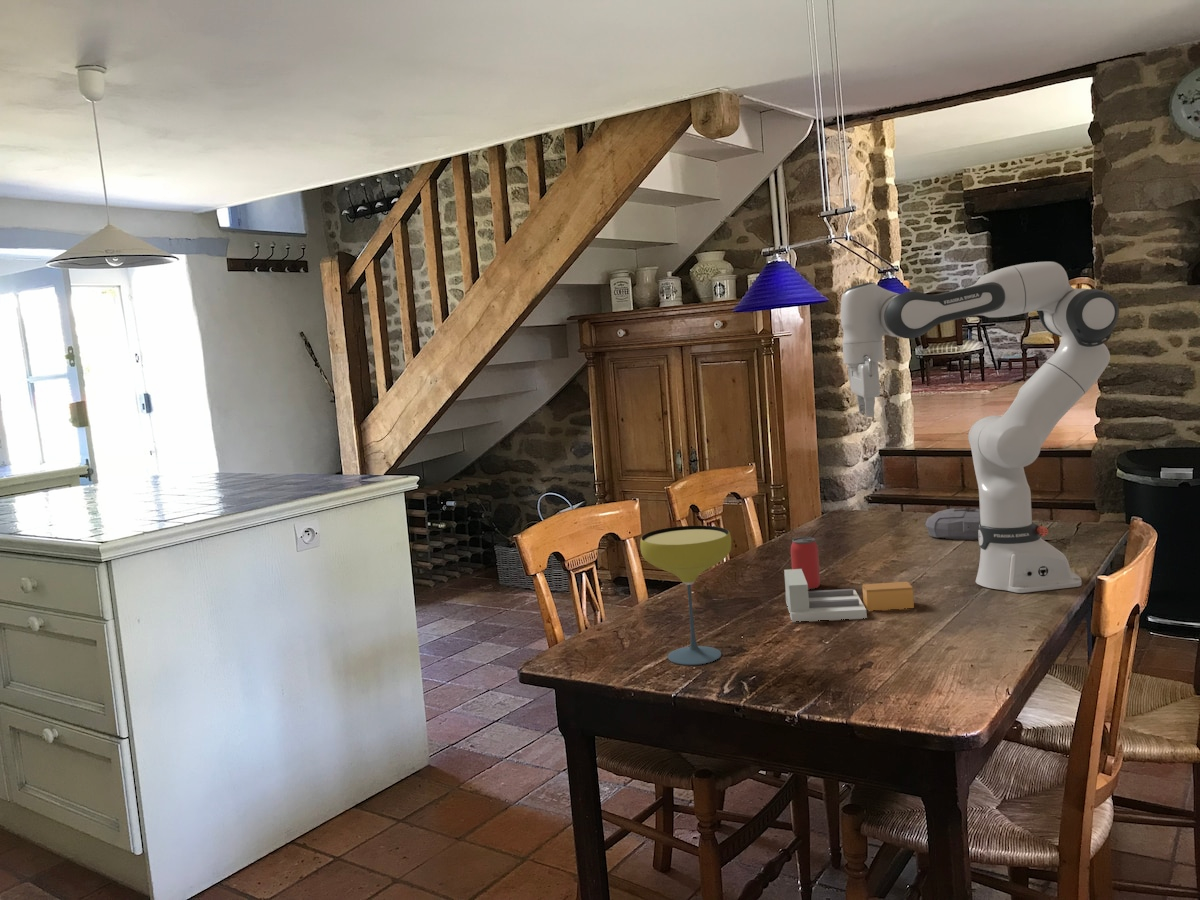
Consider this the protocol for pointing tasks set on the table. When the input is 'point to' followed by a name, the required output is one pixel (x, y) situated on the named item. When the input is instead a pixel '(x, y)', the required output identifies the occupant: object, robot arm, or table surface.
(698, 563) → the cocktail glass
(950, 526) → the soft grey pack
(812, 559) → the beer can
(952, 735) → the table surface
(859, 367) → the robot arm
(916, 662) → the table surface
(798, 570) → the white l-shaped stand
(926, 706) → the table surface
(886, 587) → the cardboard box
